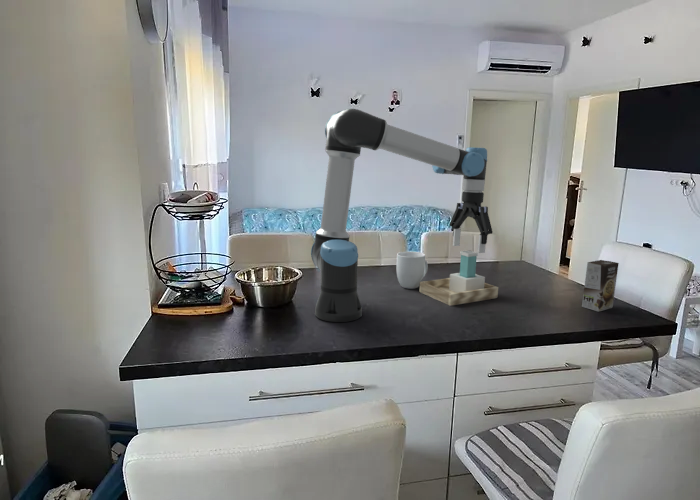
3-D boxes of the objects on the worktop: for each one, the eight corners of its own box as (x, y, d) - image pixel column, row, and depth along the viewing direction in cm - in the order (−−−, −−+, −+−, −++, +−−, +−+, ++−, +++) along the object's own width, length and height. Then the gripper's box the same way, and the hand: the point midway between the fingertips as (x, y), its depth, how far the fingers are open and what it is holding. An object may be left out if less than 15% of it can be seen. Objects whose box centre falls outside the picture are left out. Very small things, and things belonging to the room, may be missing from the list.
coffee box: (599, 312, 159) (605, 265, 156) (581, 307, 165) (586, 261, 161) (613, 307, 164) (619, 262, 161) (595, 302, 169) (601, 258, 166)
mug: (415, 280, 196) (417, 249, 194) (436, 285, 188) (437, 253, 185) (389, 285, 187) (390, 253, 184) (410, 292, 179) (411, 258, 176)
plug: (466, 285, 174) (468, 253, 172) (458, 282, 178) (460, 251, 176) (475, 284, 176) (477, 252, 174) (467, 281, 180) (469, 250, 178)
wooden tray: (450, 305, 163) (450, 294, 163) (419, 292, 179) (419, 281, 178) (497, 297, 173) (498, 287, 173) (464, 285, 189) (465, 275, 188)
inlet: (465, 295, 172) (466, 279, 171) (449, 289, 180) (450, 274, 178) (483, 292, 176) (485, 277, 175) (467, 286, 184) (468, 271, 183)
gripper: (506, 194, 161) (500, 255, 165) (458, 188, 183) (454, 242, 187) (490, 194, 158) (484, 256, 162) (443, 188, 179) (438, 243, 184)
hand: (468, 249), depth 174 cm, fingers open, 13 cm apart
